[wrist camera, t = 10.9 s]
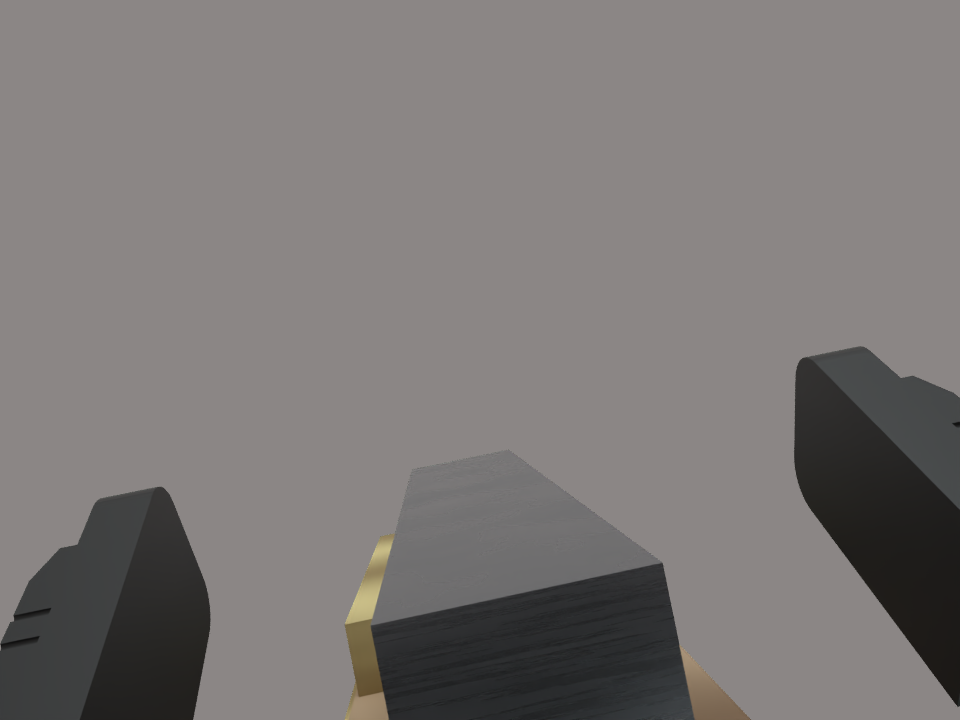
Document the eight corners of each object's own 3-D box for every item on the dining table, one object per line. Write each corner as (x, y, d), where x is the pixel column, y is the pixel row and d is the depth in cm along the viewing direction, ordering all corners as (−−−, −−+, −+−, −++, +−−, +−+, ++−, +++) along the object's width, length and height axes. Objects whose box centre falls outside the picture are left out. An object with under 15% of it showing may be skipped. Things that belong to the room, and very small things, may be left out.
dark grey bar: (431, 567, 33) (411, 469, 33) (528, 546, 33) (508, 449, 33) (429, 926, 11) (370, 626, 11) (723, 857, 11) (662, 562, 11)
